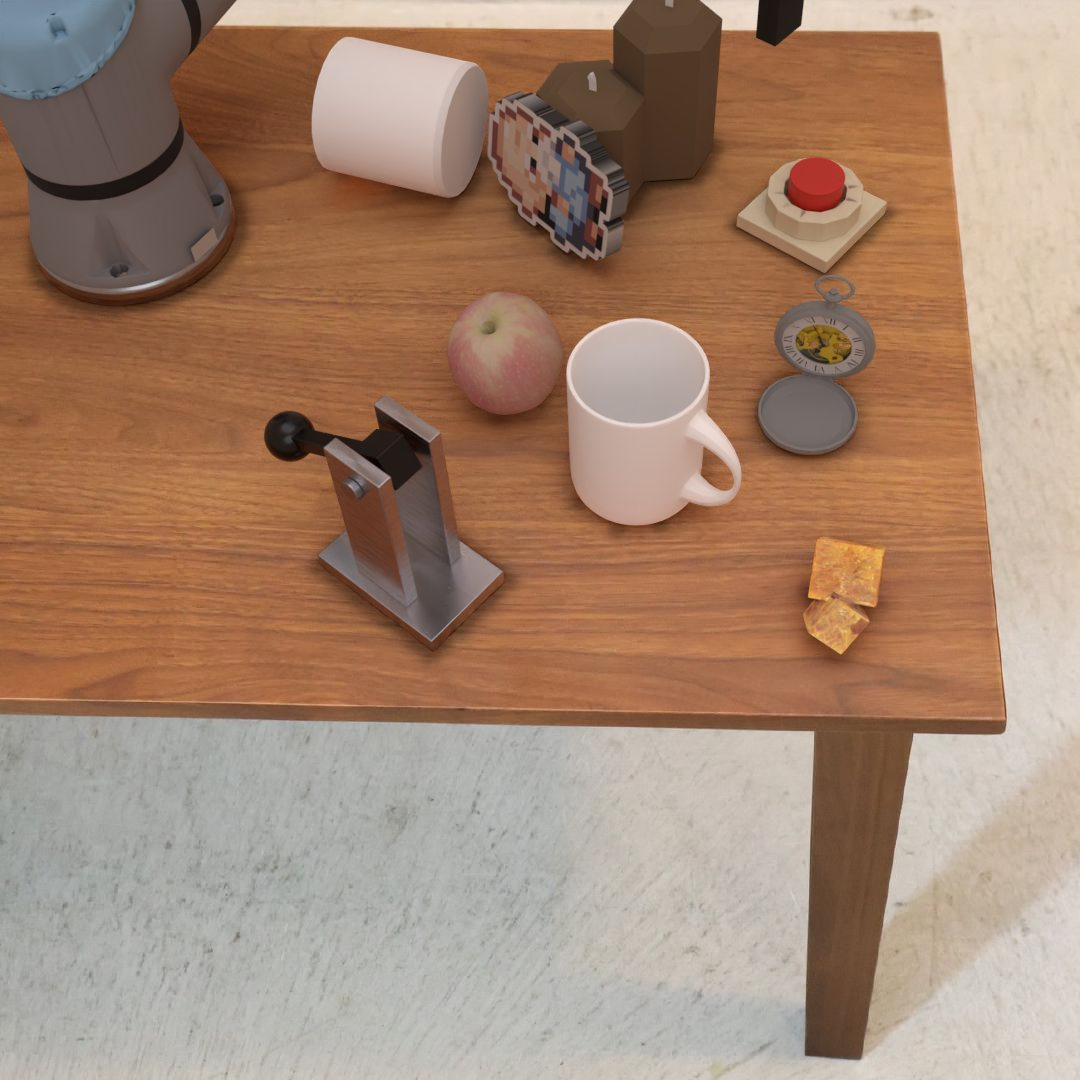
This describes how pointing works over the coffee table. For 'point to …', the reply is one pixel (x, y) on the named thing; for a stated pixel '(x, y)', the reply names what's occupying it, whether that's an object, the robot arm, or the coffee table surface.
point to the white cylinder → (400, 116)
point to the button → (816, 184)
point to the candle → (648, 90)
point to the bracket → (405, 535)
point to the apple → (505, 353)
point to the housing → (811, 220)
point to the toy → (558, 175)
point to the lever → (385, 449)
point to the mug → (642, 423)
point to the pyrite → (842, 589)
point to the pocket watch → (816, 374)
